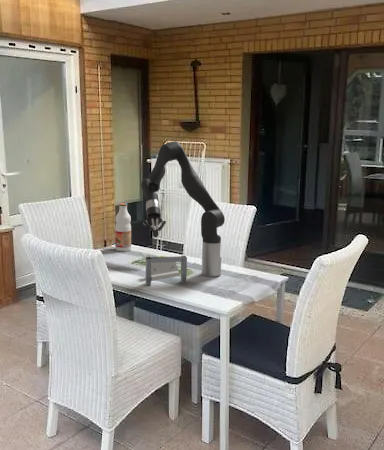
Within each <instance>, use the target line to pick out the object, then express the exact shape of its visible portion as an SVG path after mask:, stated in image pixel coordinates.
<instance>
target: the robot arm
mask: <svg viewBox="0 0 384 450" xmlns="http://www.w3.org/2000/svg"><path fill="white" fill-rule="evenodd" d="M175 160H176V161H177V162H178V164H179V167H180V170H181V171H180V172H181V175H180V178H181V180H180V181H181V184H182V187H183V188H184V190H185V191H186V193H187V194H188V195H189V196H190V197H191V198H192V199H193V200H194V201H195V202H196V203H198V204H199V205H200V206H201V207H202V208H203V210H204V212H203V214H202V215H201V218H200V234H201V235H200V236H201V238H202V247H201V248H202V249H201V251H202V252H201V275H202V276H204V277H209V278H210V277H211V278H212V277H213V278H215V277H219V276H221V274H222V271H221V270H222V256H221V250H222V249H221V246H222V244H221V243H222V237H221V236H220V235H219V234H218V228H220V227H222V226H223V225H224V224H225V220H226V218H225V215H224V213H223V211H222V210H221V209H220V207H219V206H218V204H217V203H216V202H215V200H214V199H213V198H212V196H211V195H210V193H209V191H208V190H207V188H206V186H205V185H204V183H203V182H202V180H201V179H200V176H198V173H197V172H196V170H195V169H194V167H193V165H192V163H191V162H190V159H189V157H188V156H187V154H186V152H185V150H184V147H183V146H182V144H181V143H180V142H178V141H170V142H166V143H164V144H162V145H161V146H160V148H159V150H158V154H157V157H156V161H155V164H154V166H153V168H152V170H151V172H150V173H149V176H148V178H143V179H142V180H141V183H140V187H141V191H142V192H143V195H144V198H145V211H146V220H143V222H142V225H143V226H144V227H145V228H146V229H147V230H148V231H149V232H151V231H152V236H153V238H158V237H159V232H161V231H162V229H163V228H164V227H165V226H166V224H167V221H166V220H163V218H162V215H161V214H162V213H161V208H160V207H161V205H160V201H159V195H158V193H157V192H159V191H160V188H161V182H162V179H164V177H165V173H166V164H168V163H169V162H172V161H175Z"/></svg>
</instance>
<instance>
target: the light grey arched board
mask: <svg viewBox="0 0 384 450" xmlns="http://www.w3.org/2000/svg"><path fill="white" fill-rule="evenodd" d="M175 277H176V278H177V277H181V273H180V271H179V269H178V266H177V262H160V263H151V282H152V281H153V282H155V281H157V280H158V281H159V280H166V279H170V278H175Z"/></svg>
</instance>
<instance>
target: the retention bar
mask: <svg viewBox="0 0 384 450" xmlns="http://www.w3.org/2000/svg"><path fill="white" fill-rule="evenodd" d="M160 262H176V263H180V283H181V285H187V274H188V271H187V269H188V258H187V256H186V255H179V256H178V255H177V256H151V257H150V256H146V257H145V285H146V287H151V286H152V279H151V263H160Z"/></svg>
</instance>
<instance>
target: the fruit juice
mask: <svg viewBox="0 0 384 450" xmlns="http://www.w3.org/2000/svg"><path fill="white" fill-rule="evenodd" d="M118 207H119V209H118V213H117V214H116V215H115V223H116V224H115V227H114V228H115V229H114V230H115V231H114V233H115V235H114V236H115V237H114V240H115V241H114V248H115V250H116V251H118V252H130V251H131V250H132V224H131V221H132V219H131V218H132V217H131V214H129V212H128V203H126V202H121V203H118Z"/></svg>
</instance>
